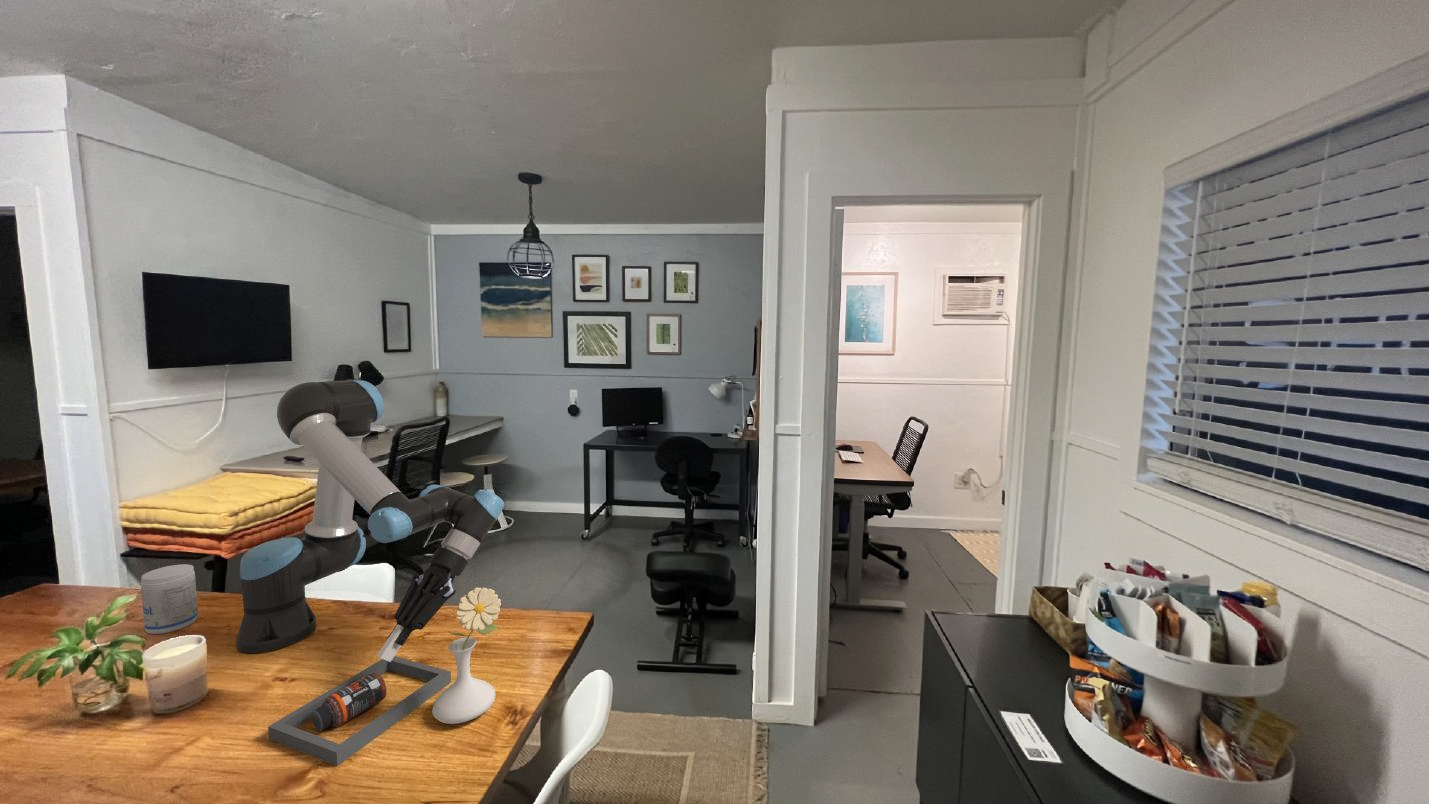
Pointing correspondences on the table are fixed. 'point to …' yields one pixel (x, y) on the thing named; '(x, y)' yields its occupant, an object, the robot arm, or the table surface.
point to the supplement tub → (169, 598)
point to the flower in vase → (468, 692)
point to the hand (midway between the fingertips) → (383, 658)
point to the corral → (338, 753)
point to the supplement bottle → (349, 702)
